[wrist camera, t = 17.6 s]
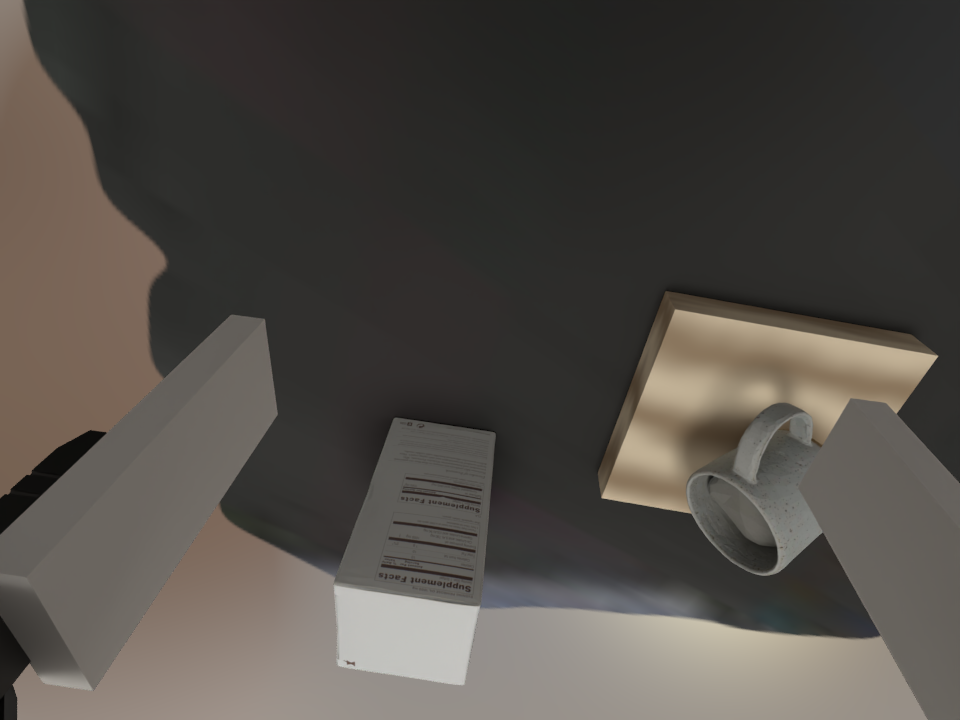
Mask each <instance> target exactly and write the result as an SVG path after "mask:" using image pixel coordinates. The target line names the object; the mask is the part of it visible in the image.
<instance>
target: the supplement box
mask: <svg viewBox="0 0 960 720" xmlns="http://www.w3.org/2000/svg"><path fill="white" fill-rule="evenodd" d="M495 438H496V434H495V433H494V432H490V431H483V430H477V429H470V428H464V427H457V426H450V425H443V424H436V423H430V422H424V421H417V420H410V419H403V418H394V419H393V421H392V424H391V427H390V430H389V433H388V436H387V439H386V441H385V444H384V447H383V450H382V452H381V455H380V458H379V461H378V463H377V466H376V469H375V471H374V474H373V477H372V480H371V483H370V487H369V491H368V494H367V496H366V498H365V501H364V504H363V506H362V509H361V511H360V514H359V516H358V519H357V521H356V524H355V527H354V529H353V532H352V535H351V537H350V540H349V543H348V545H347V548H346V551H345V554H344V556H343V559H342V562H341V564H340V567H339V570H338V572H337V575H336V578H335V581H334V584H333V585H334V595H335V609H336V624H337V661H336V664H337V666H339V667H345V668H351V669H357V670H364V671H370V672H377V673H383V674H391V675H397V676H403V677H411V678H417V679H423V680H429V681H435V682H440V683H447V684H456V685H464V684H465V682H466V676H467V671H468V666H469V661H470V656H471V651H472V645H473V640H474V635H475V630H476V625H477V619H478V614H479V609H480V605H481V598H482V587H483V575H484V563H485V551H486V539H487V528H488V517H489V505H490V493H491V481H492V471H493V459H494V447H495Z"/></svg>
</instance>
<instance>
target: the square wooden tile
mask: <svg viewBox="0 0 960 720" xmlns="http://www.w3.org/2000/svg"><path fill="white" fill-rule="evenodd" d="M937 357H938V355H936V354H935V353H934V352H933V351H931V350H930V349H929V348H928V347H926V346H925V345H924V344H923V343H921V342H920V341H919V340H917V339H916V338H915V337H914V336H912V335H911V334H906V333H900V332H895V331H889V330H883V329H878V328H872V327H866V326H861V325H855V324H849V323H844V322H838V321H833V320H827V319H821V318H816V317H810V316H804V315H799V314H793V313H787V312H782V311H776V310H771V309H765V308H759V307H754V306H748V305H742V304H737V303H731V302H725V301H720V300H714V299H709V298H703V297H697V296H692V295H686V294H680V293H675V292H669V291H665V294H664V296H663V299H662V302H661V304H660V307H659V310H658V312H657V315H656V318H655V321H654V323H653V326H652V329H651V331H650V334H649V337H648V339H647V342H646V345H645V347H644V350H643V353H642V355H641V358H640V361H639V364H638V366H637V369H636V372H635V374H634V377H633V380H632V382H631V385H630V388H629V390H628V393H627V396H626V398H625V401H624V404H623V406H622V409H621V412H620V415H619V417H618V420H617V423H616V425H615V428H614V431H613V433H612V436H611V439H610V441H609V444H608V447H607V449H606V452H605V455H604V458H603V460H602V463H601V466H600V468H599V471H598V478H599V485H600V491H601V498H605V499H610V500H616V501H622V502H628V503H634V504H639V505H645V506H651V507H657V508H663V509H668V510H674V511H680V512H686V513H691V511H690V509H689V506H688V502H687V497H686V484H687V481H688V479H689V478H690V476H691V475H692V474H693V473H694V472H696V471H697V470H698V469H700V468H702V467H703V466H705V465H707V464H709V463H710V462H712V461H714V460H716V459H717V458H719V457H721V456H722V455H724V454H726V453H728V452H730V451H732V450H734V449H736V448H737V447H738V444H739V442H740V439H741V437H742V436H743V434H744V432H745V431H746V429H747V428H748V426H749V425H750V423H751V422H752V421H753V420H754V419H755V418H756V416H757V415H758V414H760V413H761V412H762V411H763V410H764V409H766V408H767V407H769V406H771V405H773V404H776V403H789V404H791V405H794V406H796V407H798V408H800V409H802V410H804V411H805V412H806V413H808V414H809V415H810V416H811V417H812V421H813V431H812V438H813V439H814V440H816V441H817V442H819V443H820V444H821V445H823V444H824V442H825V440H826V439H827V437H828V435H829V434H830V432H831V430H832V429H833V427H834V425H835V424H836V422H837V420H838V419H839V417H840V415H841V414H842V412H843V410H844V409H845V407H846V405H847V404H848V402H849V400H850V399H851V398H854V399H861V400H869V401H876V402H884V403H887V404H888V406H889V407H890V408H891V409H892V410H893V411H894V412H895V413H896V414H897V412H898V411H899V409H900V408H901V407H902V405H903V404H904V403H905V401H906V400H907V398H908V397H909V396H910V394H911V393H912V391H913V390H914V389H915V387H916V386H917V385H918V383H919V382H920V380H921V379H922V378H923V376H924V375H925V373H926V372H927V371H928V369H929V368H930V367H931V365H932V364H933V362H934V361H935V360H936V358H937ZM789 426H790V420H789V421H787V422H785V423H784V424H783V425H782V426H781V427H780V428H779V429H789Z"/></svg>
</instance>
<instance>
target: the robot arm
mask: <svg viewBox="0 0 960 720" xmlns="http://www.w3.org/2000/svg"><path fill="white" fill-rule="evenodd" d="M277 415H278V414H277V406H276V399H275V392H274V384H273V377H272V370H271V362H270V355H269V348H268V340H267V333H266V326H265V319H259V318H252V317H245V316H237V315H231V316H229V317H228V318H227V319H226V320H225V321H224V322H223V323H222V324H221V325H220V326H219V327H218V328H217V329H216V330H215V331H214V332H213V333H212V334H211V335H210V336H208V337H207V338H206V339H205V340H204V341H203V342H202V343H201V344H200V345H199V346H198V347H197V348H196V349H195V350H194V351H193V352H192V353H191V354H190V355H189V356H187V357H186V358H185V359H184V360H183V361H182V362H181V363H180V364H179V365H178V366H177V367H176V368H175V369H174V370H173V371H172V372H171V373H170V374H169V375H167V376H166V377H165V378H164V379H163V380H162V381H161V382H160V383H159V384H158V385H157V386H156V387H155V388H154V389H153V390H152V391H151V392H150V393H149V394H148V395H146V397H144V398H143V399H142V400H141V401H140V402H139V403H138V404H137V405H136V406H135V407H134V408H133V409H132V410H131V411H130V412H129V413H128V414H127V415H125V416H124V417H123V418H122V419H121V420H120V421H119V422H118V423H117V424H116V425H115V426H114V427H113V428H112V429H111V430H110V431H109V432H108V433H106V432H99V431H92V430H90V431H88V432H86V433H84V434H82V435H80V436H79V437H77V438H75V439H73V440H72V441H69V442H67V443H66V444H64V445H62V446H60V447H58V448H57V449H56V450H54V451H53V452H52V453H51V454H50V455H49V456H48V457H47V458H45V459H44V460H43V461H42V462H41V463H40V464H39V465H38V466H36V467H35V468H34V469H33V470H32V474H31V475H26V476H25V477H24V478H23V479H22V480H21V481H19V482H18V483H17V484H16V485H15V486H14V487H13V488H11V492H10V494H8V495H7V494H5V495H4V496H2V497H1V498H0V720H17V697H16V694H15V690H14V687H13V685H12V684H13V683H14V682H15V681H16V679H17V678H18V677H19V676H20V674H21V673H22V672H23V670H24V669H25V668H26V667H27V665H28V664H29V663H30V664H31V666H32V667H33V669H34V670H35V672H36V673H37V675H38V676H39V677H40V679H41V681H42V682H43V683H44V684H51V685H57V686H63V687H70V688H76V689H83V690H89V691H94V690H95V688H96V687H97V685H98V684H99V682H100V681H101V679H102V678H103V676H104V675H105V673H106V672H107V670H108V669H109V667H110V666H111V664H112V662H113V661H114V659H115V658H116V657H117V655H118V653H119V652H120V651H121V649H122V647H123V646H124V645H125V643H126V642H127V640H128V639H129V637H130V636H131V634H132V633H133V631H134V630H135V628H136V627H137V625H138V624H139V622H140V620H141V619H142V618H143V616H144V615H145V613H146V611H147V610H148V608H149V607H150V605H151V604H152V602H153V601H154V599H155V598H156V596H157V595H158V593H159V592H160V590H161V589H162V587H163V586H164V584H165V583H166V581H167V580H168V578H169V577H170V575H171V574H172V572H173V571H174V569H175V568H176V566H177V565H178V563H179V562H180V560H181V558H182V557H183V556H184V554H185V553H186V551H187V550H188V548H189V547H190V545H191V544H192V542H193V541H194V539H195V538H196V536H197V535H198V533H199V532H200V530H201V529H202V527H203V526H204V524H205V523H206V521H207V520H208V518H209V517H210V515H211V514H212V512H213V511H214V509H215V508H216V506H217V505H218V503H219V502H220V500H221V499H222V497H223V496H224V494H225V493H226V491H227V490H228V488H229V487H230V485H231V484H232V482H233V481H234V479H235V478H236V476H237V475H238V473H239V472H240V470H241V469H242V467H243V466H244V464H245V463H246V461H247V460H248V458H249V457H250V455H251V454H252V452H253V451H254V449H255V448H256V446H257V445H258V443H259V442H260V440H261V439H262V437H263V436H264V434H265V433H266V431H267V430H268V428H269V427H270V425H271V424H272V422H273V421H274V419H275V418H276V416H277ZM798 488H799V490H800V492H801V493H802V495H803V497H804V499H805V501H806V502H807V504H808V506H809V508H810V510H811V511H812V513H813V515H814V517H815V519H816V520H817V522H818V524H819V526H820V528H821V529H822V531H823V533H824V535H825V536H826V538H827V540H828V542H829V544H830V545H831V547H832V549H833V551H834V553H835V554H836V556H837V558H838V560H839V562H840V563H841V565H842V567H843V569H844V571H845V572H846V574H847V576H848V578H849V579H850V581H851V583H852V585H853V587H854V588H855V590H856V592H857V594H858V596H859V597H860V599H861V601H862V603H863V605H864V606H865V608H866V610H867V612H868V614H869V615H870V617H871V619H872V621H873V622H874V624H875V626H876V628H877V630H878V631H879V633H880V635H881V637H882V639H883V640H884V642H885V644H886V646H887V648H888V649H889V651H890V653H891V655H892V656H893V658H894V660H895V662H896V664H897V666H898V667H899V669H900V671H901V672H902V674H903V676H904V678H905V680H906V682H907V683H908V685H909V687H910V689H911V690H912V692H913V694H914V696H915V698H916V699H917V701H918V703H919V705H920V706H921V708H922V710H923V712H924V714H925V716H926V717H927V719H928V720H960V483H959V482H958V481H957V480H956V479H955V478H954V477H953V476H952V475H951V473H950V472H949V471H948V470H947V469H946V468H945V467H944V466H943V465H942V464H941V463H940V461H939V460H938V459H937V458H936V457H935V456H934V455H933V454H932V453H931V452H930V450H929V449H928V448H927V447H926V446H925V445H924V444H923V443H922V442H921V441H920V439H919V438H918V437H917V436H916V435H915V434H914V433H913V432H912V431H911V430H910V429H909V427H908V426H907V425H906V424H905V423H904V422H903V421H902V420H901V419H900V418H899V416H898V415H897V414H896V413H895V412H894V411H893V410H892V409H891V408H890V407H889V406H888V404H887V403H884V402H876V401H869V400H861V399H854V398H851V399H850V400H849V402H848V404H847V405H846V407H845V409H844V410H843V412H842V414H841V415H840V417H839V419H838V420H837V422H836V424H835V425H834V427H833V429H832V430H831V432H830V434H829V435H828V437H827V439H826V440H825V442H824V444H823V445H822V447H821V449H820V450H819V452H818V454H817V455H816V457H815V459H814V460H813V462H812V464H811V465H810V467H809V469H808V470H807V472H806V474H805V475H804V477H803V479H802V480H801V482H800V484H799V485H798Z"/></svg>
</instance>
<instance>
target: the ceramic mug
mask: <svg viewBox="0 0 960 720" xmlns="http://www.w3.org/2000/svg"><path fill="white" fill-rule="evenodd" d="M789 420H790V426H789V429H779V428H780V427H781V426H782V425H783V424H784V423H785V422H787V421H789ZM812 431H813V421H812V417H811V416H810V415H809V414H808V413H806V412H805V411H804V410H802V409H800V408H798V407H796V406H794V405H791V404H789V403H776V404H773V405H771V406H769V407H767V408H766V409H764V410H763V411H762V412H761V413H760V414H758V415H757V416H756V418H755V419H754V420H753V421H752V422H751V423H750V425H749V426H748V428H747V429H746V431H745V432H744V434H743V436H742V437H741V439H740V442H739V444H738V447H737V448H736V449H734V450H732V451H730V452H728V453H726V454H724V455H722V456H721V457H719V458H717V459H716V460H714V461H712V462H710V463H709V464H707V465H705V466H703V467H702V468H700V469H698V470H697V471H696V472H694V473H693V474H692V475H691V476H690V478H689V479H688V481H687V484H686V497H687V502H688V506H689V509H690V511H691V513H692V515H693V517H694V519H695V521H696V522H697V524H698V526H699V527H700V529H701V530H702V531H703V533H704V534H705V535H706V537H707V538H708V539H709V541H710V542H711V543H712V544H713V545H714V546H715V547H716V548H717V549H718V550H719V551H720V552H721V553H722V554H723V555H724V556H726V557H727V558H728V559H729V560H730V561H731V562H733V563H735V564H736V565H738V566H739V567H741V568H743V569H745V570H747V571H749V572H751V573H754V574H758V575H763V576H764V575H772V574H775V573H778V572H779V571H781V570H782V569H783V568H784V567H786V566H787V565H788V564H789V563H790V562H791V561H792V560H793V559H794V558H795V557H796V556H797V555H798V554H799V553H800V552H801V551H802V550H803V549H805V548H806V547H807V546H808V545H809V544H810V543H811V542H812V541H813V540H814V539H815V538H817V537H818V536H819V535H820V534H821V533H822V532H823V531H822V529H821V528H820V526H819V524H818V522H817V520H816V519H815V517H814V515H813V513H812V511H811V510H810V508H809V506H808V504H807V502H806V501H805V499H804V497H803V495H802V493H801V492H800V490H799V488H798V485H799V484H800V482H801V480H802V479H803V477H804V475H805V474H806V472H807V470H808V469H809V467H810V465H811V464H812V462H813V460H814V459H815V457H816V455H817V454H818V452H819V450H820V449H821V447H822V445H821V444H820V443H819V442H817V441H816V440H814V439H813V438H812Z"/></svg>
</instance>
